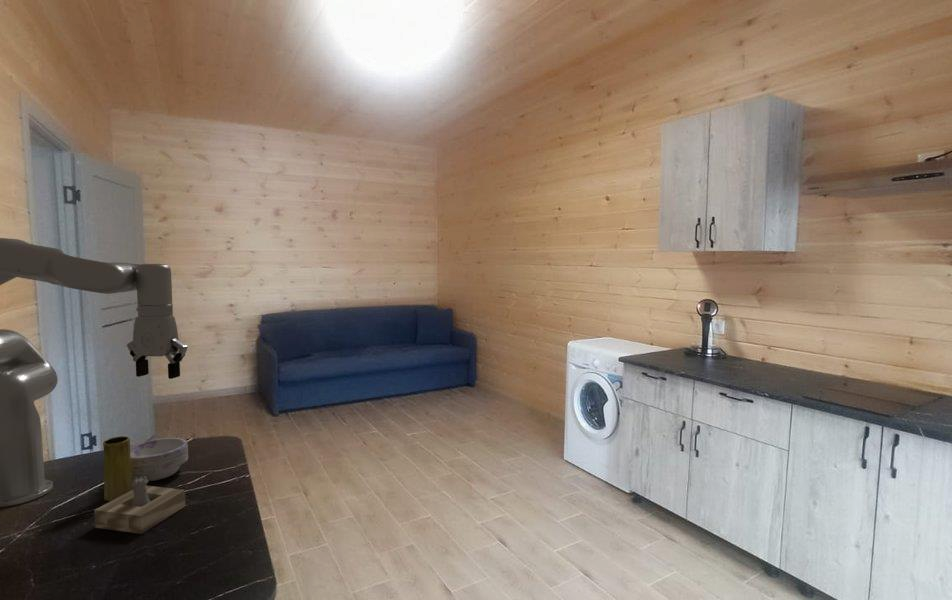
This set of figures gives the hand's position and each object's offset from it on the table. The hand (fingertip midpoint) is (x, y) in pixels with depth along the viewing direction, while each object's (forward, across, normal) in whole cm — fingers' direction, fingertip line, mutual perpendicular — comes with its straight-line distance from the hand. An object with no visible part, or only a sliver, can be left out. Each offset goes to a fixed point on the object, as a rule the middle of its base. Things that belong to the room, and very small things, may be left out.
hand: (158, 376), depth 125 cm
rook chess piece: (+28, +10, -16) cm, 33 cm away
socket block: (+28, +10, -16) cm, 34 cm away
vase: (+28, -4, -9) cm, 30 cm away
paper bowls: (+29, -5, +3) cm, 29 cm away
